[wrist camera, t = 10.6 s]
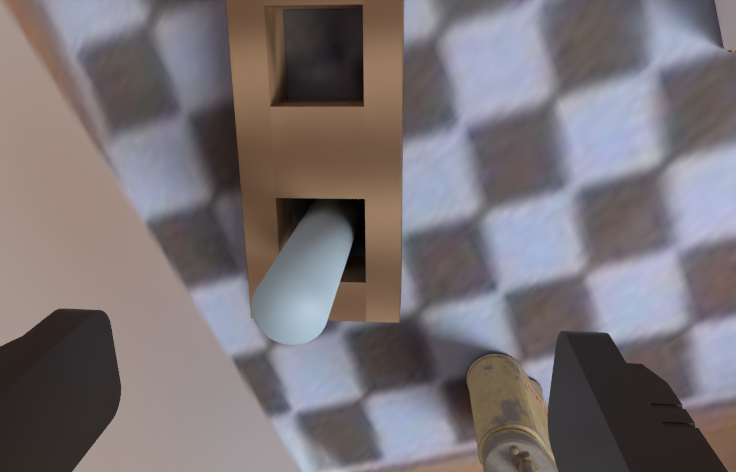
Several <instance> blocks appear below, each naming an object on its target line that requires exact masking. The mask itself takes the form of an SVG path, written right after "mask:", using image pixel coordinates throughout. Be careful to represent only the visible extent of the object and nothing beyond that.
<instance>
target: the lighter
mask: <svg viewBox="0 0 736 472" xmlns="http://www.w3.org/2000/svg"><path fill="white" fill-rule="evenodd" d="M466 379H467V386H468V389H469V393H470V400H471V407H472V414H473V421H474V428H475V435H476V442H477V449H478V456H479V459H480V462H481V464H482V465H483V468H484V472H558V469H557V466H556V463H555V459H554V456H553V453H552V449H551V446H550V441H549V435H548V404H547V403H546V401H545V400H544V399H543V397H542V388H541V386H540V384H539V383H538V382H537V381H535V380H533V379H529V377H528V376H527V375H526V373H525V372H524V370H523V369H522V368H521V366H520V365H519V363H518V362H517V361H516V360H514V359H513V358H511V357H509V356H507V355H503V354H488V355H485V356H482V357H480V358H479V359H477V360H476V361H475V362H474V363H473V364H472V365H471V366H470V368H469V370H468V372H467V378H466Z"/></svg>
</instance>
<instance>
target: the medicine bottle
mask: <svg viewBox="0 0 736 472" xmlns="http://www.w3.org/2000/svg"><path fill="white" fill-rule="evenodd" d="M714 1H715V6H716V11H717V16H718V21H719V26H720V31H721V36H722V41H723V46H724V48H725V50H727V51H729V52H736V0H714Z"/></svg>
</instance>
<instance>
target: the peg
mask: <svg viewBox="0 0 736 472" xmlns="http://www.w3.org/2000/svg"><path fill="white" fill-rule="evenodd" d="M358 224H359V215H358V211H357V209H356V207H355V205H354V204H353V203H352V202H351V201H350V200H349V199H320V198H317V199H316V200H314V202H313V203H312V204H311V206H310V207H309V209H308V210H307V212H306V213H305V215H304V216H303V218H302V219H301V221H300V223H299V224H298V226H297V227H296V229H295V230H294V232H293V233H292V235H291V236H290V238H289V239H288V241H287V243H286V244H285V246H284V247H283V249H282V250H281V252H280V253H279V255H278V256H277V258H276V260H275V261H274V263H273V264H272V266H271V267H270V269H269V270H268V272H267V273H266V275H265V276H264V278H263V280H262V281H261V283H260V284H259V286H258V287H257V289H256V290H255V292H254V294H253V297H252V302H251V311H252V316H253V319H254V321H255V323H256V325H257V326H258V328H259V329H260V330H261V331H262V332H263V333H264V334H265V335H266V336H267V337H269V338H271V339H272V340H274V341H276V342H279V343H282V344H288V345H298V344H303V343H307V342H309V341H311V340H313V339H314V338H316V337H317V336H318V335H319V334H320V333H321V332H322V331H323V329H324V327H325V326H326V323H327V320H328V317H329V314H330V311H331V308H332V305H333V302H334V299H335V295H336V292H337V289H338V286H339V283H340V280H341V277H342V274H343V271H344V268H345V265H346V262H347V259H348V255H349V252H350V249H351V246H352V243H353V240H354V237H355V234H356V231H357V228H358Z"/></svg>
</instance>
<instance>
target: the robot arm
mask: <svg viewBox="0 0 736 472" xmlns="http://www.w3.org/2000/svg"><path fill="white" fill-rule="evenodd" d="M120 396H121V383H120V377H119V371H118V365H117V359H116V353H115V347H114V341H113V336H112V329H111V324H110V320H109V318H108V316H107V314H106V313H105V312H103V311H101V310H83V309H58V310H56V311H54V312H53V313H51V314H50V315H49V316H47V317H46V318H45V319H44V320H42V321H41V322H40V323H39V324H37V325H36V326H35V327H34V328H32V329H31V330H30V331H28V332H27V333H26V334H25V335H24V336H22V337H19V338H17V339H15V340H13V341H11V342H9V343H7V344H5V345H3V346H1V347H0V472H72V471H73V470H74V468H75V467H76V465H78V463H79V462H80V461H81V459H82V458H83V457H84V456H85V454H86V453H87V452H88V450H89V449H90V448H91V447H92V445H93V444H94V443H95V441H96V440H97V439H98V438H99V436H100V435H101V434H102V432H103V431H104V430H105V429H106V427H107V426H108V425H109V423H110V422H111V421H112V419H113V418H114V416H115V414H116V412H117V409H118V406H119V402H120ZM548 435H549V441H550V446H551V449H552V453H553V456H554V459H555V463H556V466H557V469H558V472H728V471H727V470H726V468H725V467H724V465H723V464H722V462H721V461H720V459H719V458H718V457H717V455H716V454H715V452H714V451H713V449H712V448H711V446H710V445H709V443H708V442H707V440H706V439H705V437H704V436H703V435H702V433H701V432H700V430H699V429H698V428H695V423H694V421H693V420H692V418H691V417H690V415H689V414H688V413H687V411H686V410H685V409H682V404H681V402H680V401H679V399H678V398H677V396H676V395H675V394H674V392H673V391H672V389H671V388H670V386H669V385H668V383H667V382H665V381H664V380H663V379H661V378H660V377H659V376H657V375H656V374H655V373H653V372H652V371H650V370H649V369H648V368H646V367H645V366H644V365H642V364H632V363H626V362H625V360H624V358H623V357H622V355H621V353H620V352H619V350H618V348H617V347H616V345H615V343H614V342H613V340H612V338H611V337H610V335H609V334H607V333H598V332H575V331H561V332H560V333H559V335H558V338H557V343H556V350H555V358H554V366H553V373H552V381H551V389H550V397H549V405H548Z"/></svg>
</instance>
